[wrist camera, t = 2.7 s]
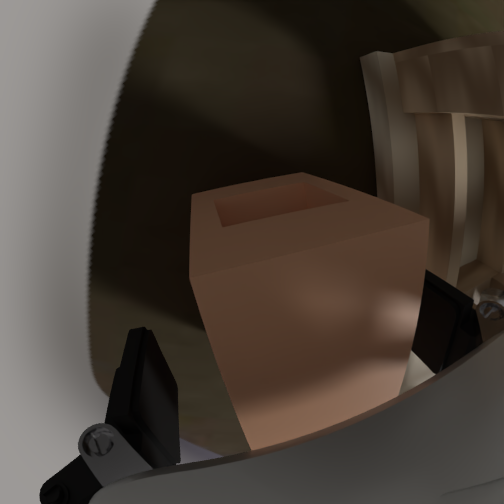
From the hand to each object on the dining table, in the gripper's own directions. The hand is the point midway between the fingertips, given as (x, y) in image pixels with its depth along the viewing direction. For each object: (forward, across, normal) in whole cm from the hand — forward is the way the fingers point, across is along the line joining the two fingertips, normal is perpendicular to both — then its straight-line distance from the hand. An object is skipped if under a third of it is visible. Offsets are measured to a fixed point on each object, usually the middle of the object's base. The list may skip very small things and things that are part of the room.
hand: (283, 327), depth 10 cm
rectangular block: (+4, 0, -1) cm, 4 cm away
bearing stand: (+4, -12, +4) cm, 14 cm away
